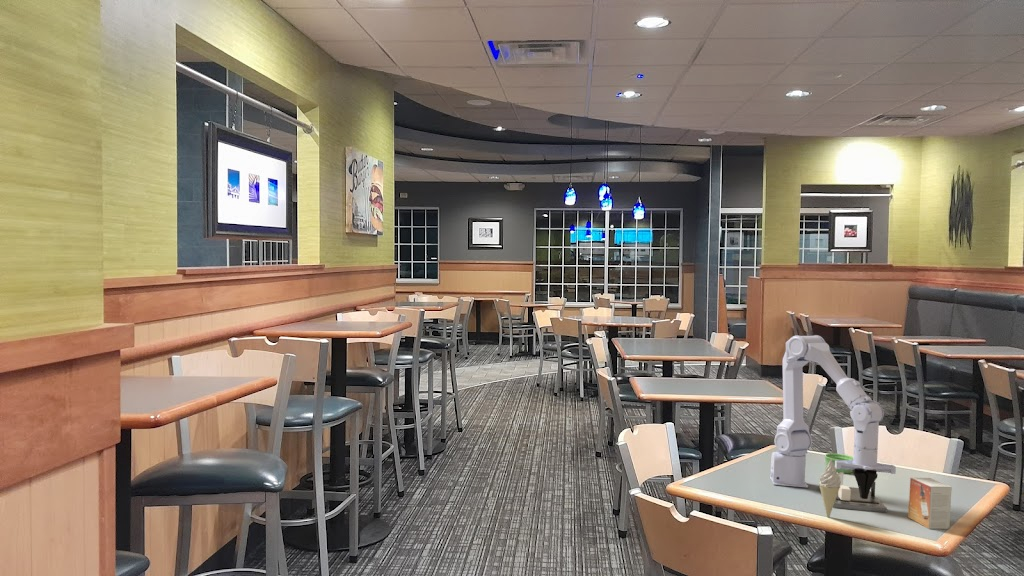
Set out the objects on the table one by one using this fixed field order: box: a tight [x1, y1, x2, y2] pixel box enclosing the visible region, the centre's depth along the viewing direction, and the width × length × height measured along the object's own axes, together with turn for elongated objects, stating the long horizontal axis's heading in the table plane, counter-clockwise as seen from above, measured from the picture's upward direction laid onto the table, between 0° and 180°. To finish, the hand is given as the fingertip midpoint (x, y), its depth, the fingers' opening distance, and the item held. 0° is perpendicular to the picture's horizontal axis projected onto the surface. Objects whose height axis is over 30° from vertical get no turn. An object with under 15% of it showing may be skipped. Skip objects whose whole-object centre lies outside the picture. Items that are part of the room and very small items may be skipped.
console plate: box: [818, 481, 888, 513], centre depth 196 cm, size 13×18×6 cm
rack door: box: [837, 472, 844, 486], centre depth 203 cm, size 10×1×3 cm, turn 141°
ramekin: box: [824, 453, 853, 474], centre depth 229 cm, size 9×9×4 cm
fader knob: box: [838, 484, 851, 501], centre depth 192 cm, size 2×4×3 cm, turn 168°
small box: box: [907, 477, 953, 530], centre depth 179 cm, size 8×6×10 cm
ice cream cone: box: [818, 458, 841, 518], centre depth 181 cm, size 5×5×15 cm
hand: (863, 497), depth 191 cm, fingers closed
